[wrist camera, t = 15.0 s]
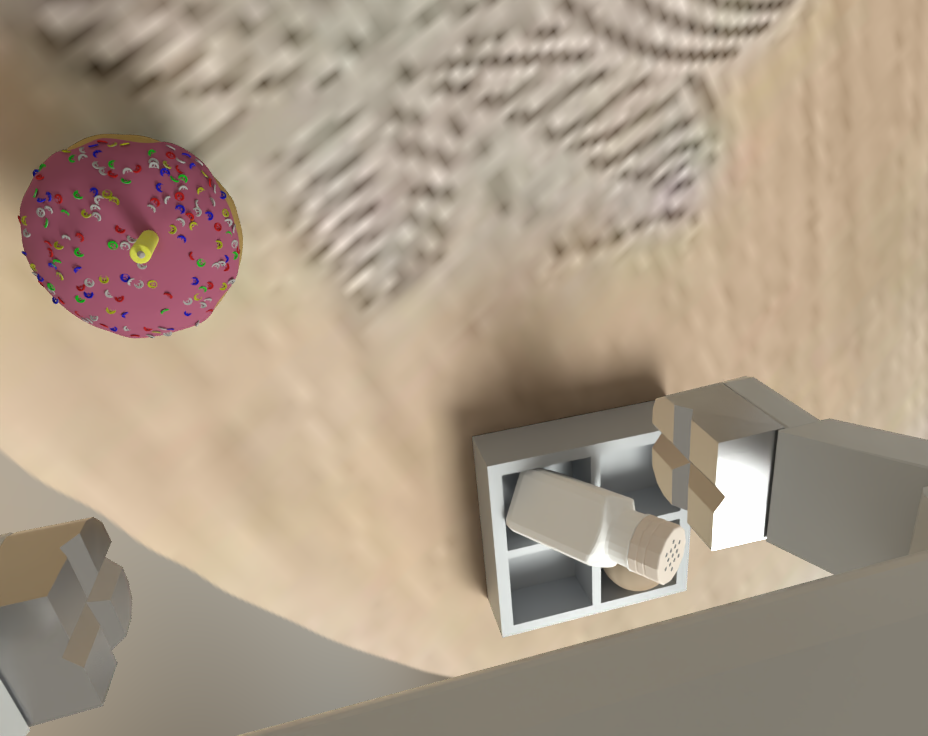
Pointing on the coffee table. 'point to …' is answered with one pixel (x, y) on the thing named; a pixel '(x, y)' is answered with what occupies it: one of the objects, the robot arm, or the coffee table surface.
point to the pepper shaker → (594, 525)
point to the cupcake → (131, 234)
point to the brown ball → (628, 578)
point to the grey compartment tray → (587, 459)
